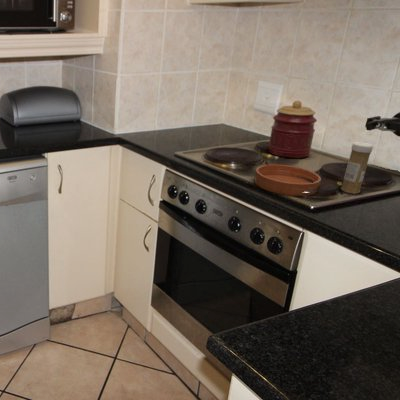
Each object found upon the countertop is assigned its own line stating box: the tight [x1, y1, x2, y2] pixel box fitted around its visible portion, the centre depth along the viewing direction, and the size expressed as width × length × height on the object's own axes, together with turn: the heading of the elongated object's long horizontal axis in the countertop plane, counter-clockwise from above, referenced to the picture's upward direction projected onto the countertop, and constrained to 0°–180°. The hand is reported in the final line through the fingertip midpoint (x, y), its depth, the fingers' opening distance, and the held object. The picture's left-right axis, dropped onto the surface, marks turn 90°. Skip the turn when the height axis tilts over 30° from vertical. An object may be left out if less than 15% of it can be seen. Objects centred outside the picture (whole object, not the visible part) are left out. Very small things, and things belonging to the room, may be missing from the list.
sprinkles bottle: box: [340, 141, 374, 195], centre depth 127 cm, size 5×5×14 cm
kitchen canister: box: [267, 100, 318, 159], centre depth 159 cm, size 13×13×18 cm
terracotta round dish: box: [253, 164, 322, 197], centre depth 133 cm, size 16×16×4 cm
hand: (385, 130), depth 130 cm, fingers open, 8 cm apart
